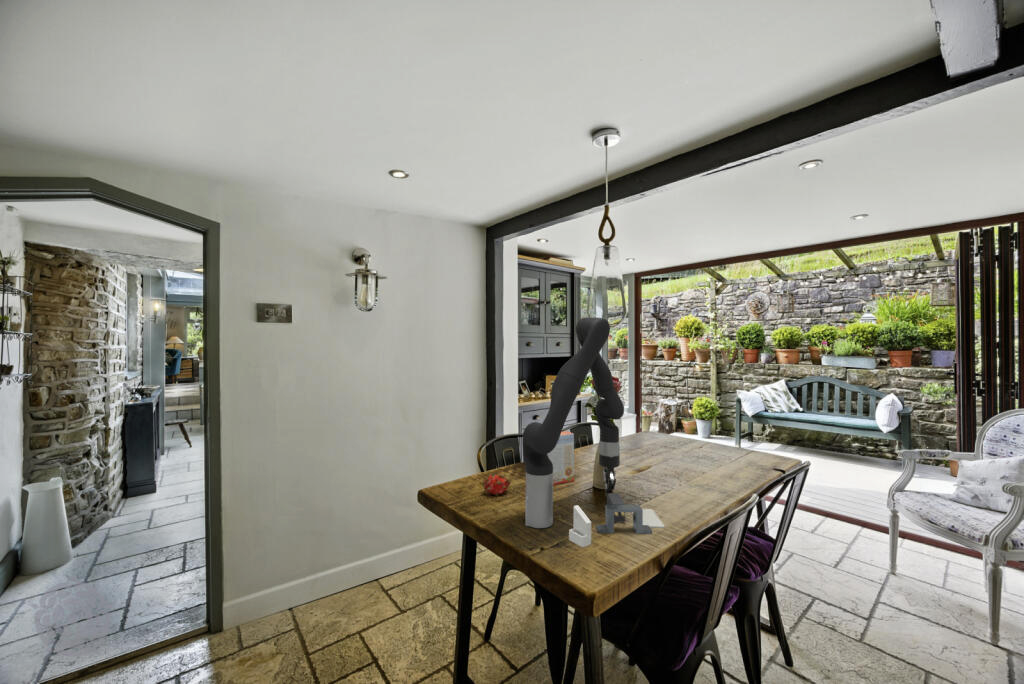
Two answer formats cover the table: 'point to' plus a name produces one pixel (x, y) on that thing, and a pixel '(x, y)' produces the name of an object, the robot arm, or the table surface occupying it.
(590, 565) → the table surface
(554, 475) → the cracker box
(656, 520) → the pad
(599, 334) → the robot arm
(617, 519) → the plug
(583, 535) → the white wedge bracket
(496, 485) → the dragon fruit
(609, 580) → the table surface
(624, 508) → the grey arch bracket
